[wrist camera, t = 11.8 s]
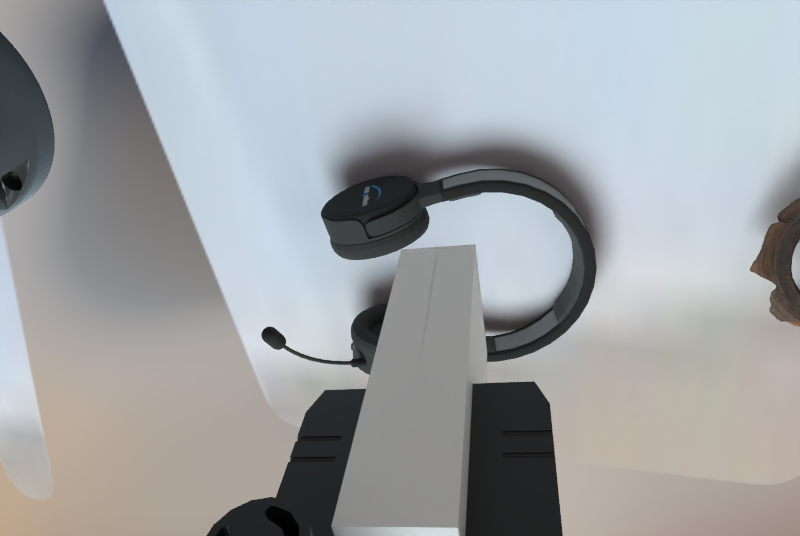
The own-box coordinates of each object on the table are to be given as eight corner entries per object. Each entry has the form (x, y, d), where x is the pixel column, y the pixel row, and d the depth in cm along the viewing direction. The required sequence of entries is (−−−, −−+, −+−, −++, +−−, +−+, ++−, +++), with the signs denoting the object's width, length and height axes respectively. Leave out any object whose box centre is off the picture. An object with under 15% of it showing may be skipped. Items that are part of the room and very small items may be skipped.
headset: (234, 257, 34) (626, 211, 32) (269, 183, 42) (582, 144, 40) (292, 443, 40) (618, 413, 39) (312, 348, 49) (582, 320, 47)
